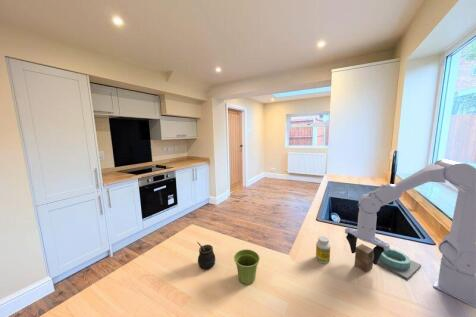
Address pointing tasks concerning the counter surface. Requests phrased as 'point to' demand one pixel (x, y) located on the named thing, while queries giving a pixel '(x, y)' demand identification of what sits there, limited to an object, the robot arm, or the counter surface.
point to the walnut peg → (364, 258)
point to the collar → (398, 263)
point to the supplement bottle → (323, 250)
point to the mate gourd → (206, 257)
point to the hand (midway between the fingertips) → (363, 257)
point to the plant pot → (246, 265)
